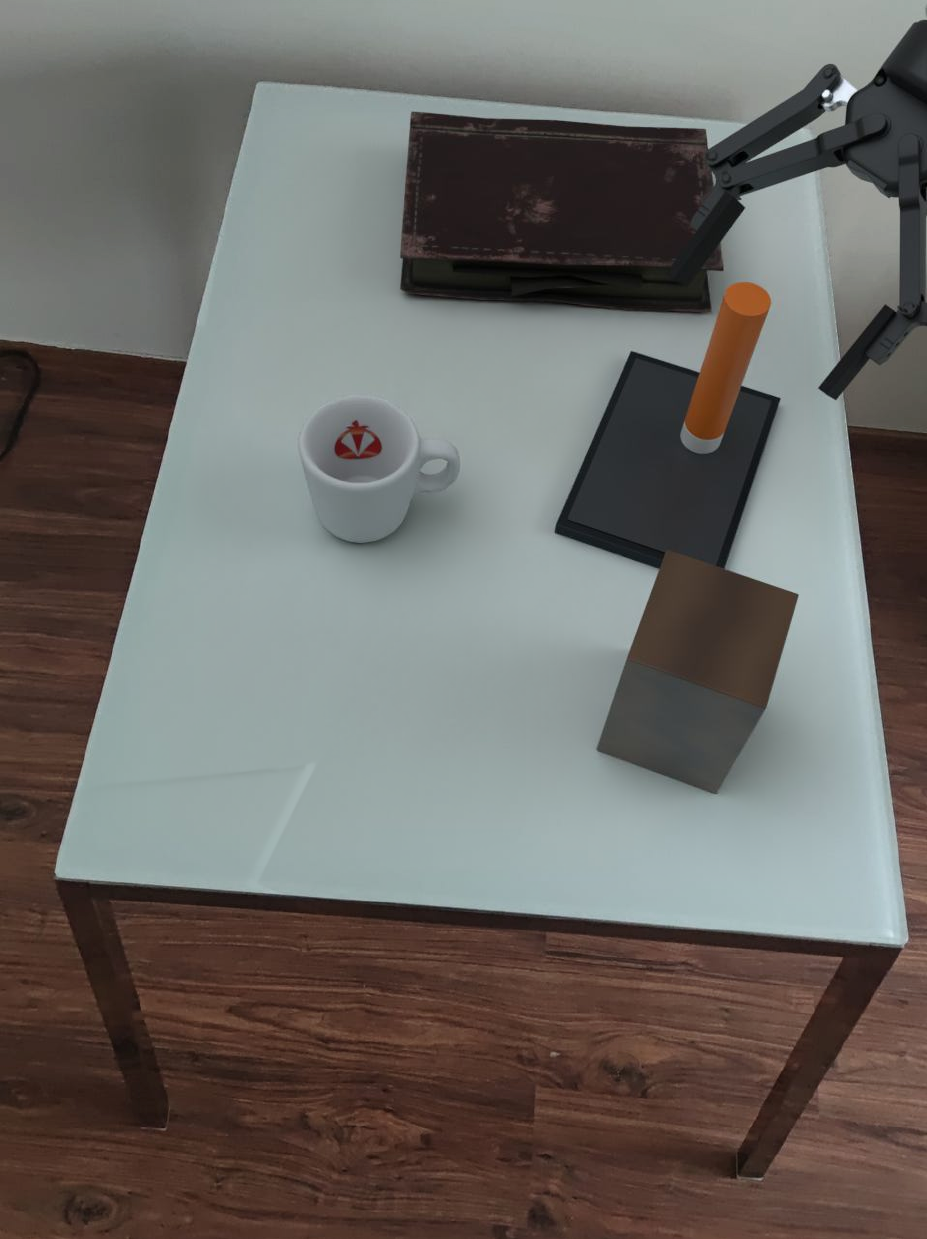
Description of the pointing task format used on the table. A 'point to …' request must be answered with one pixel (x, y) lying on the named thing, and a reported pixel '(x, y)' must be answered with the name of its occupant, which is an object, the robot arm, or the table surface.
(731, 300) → the orange cylinder
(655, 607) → the tall brown-topped block
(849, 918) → the table surface
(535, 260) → the diary
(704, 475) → the tablet
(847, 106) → the robot arm
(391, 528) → the cup
